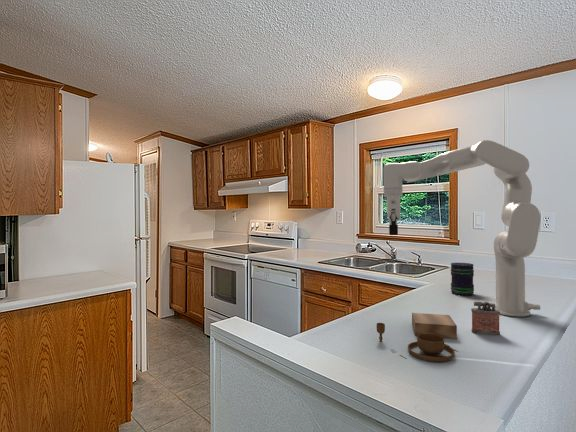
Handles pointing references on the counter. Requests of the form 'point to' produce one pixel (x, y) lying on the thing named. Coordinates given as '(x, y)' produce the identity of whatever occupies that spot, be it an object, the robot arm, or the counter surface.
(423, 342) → the place setting
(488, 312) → the lighter
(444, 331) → the walnut base
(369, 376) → the counter surface
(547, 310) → the counter surface
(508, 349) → the counter surface
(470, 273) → the storage jar
